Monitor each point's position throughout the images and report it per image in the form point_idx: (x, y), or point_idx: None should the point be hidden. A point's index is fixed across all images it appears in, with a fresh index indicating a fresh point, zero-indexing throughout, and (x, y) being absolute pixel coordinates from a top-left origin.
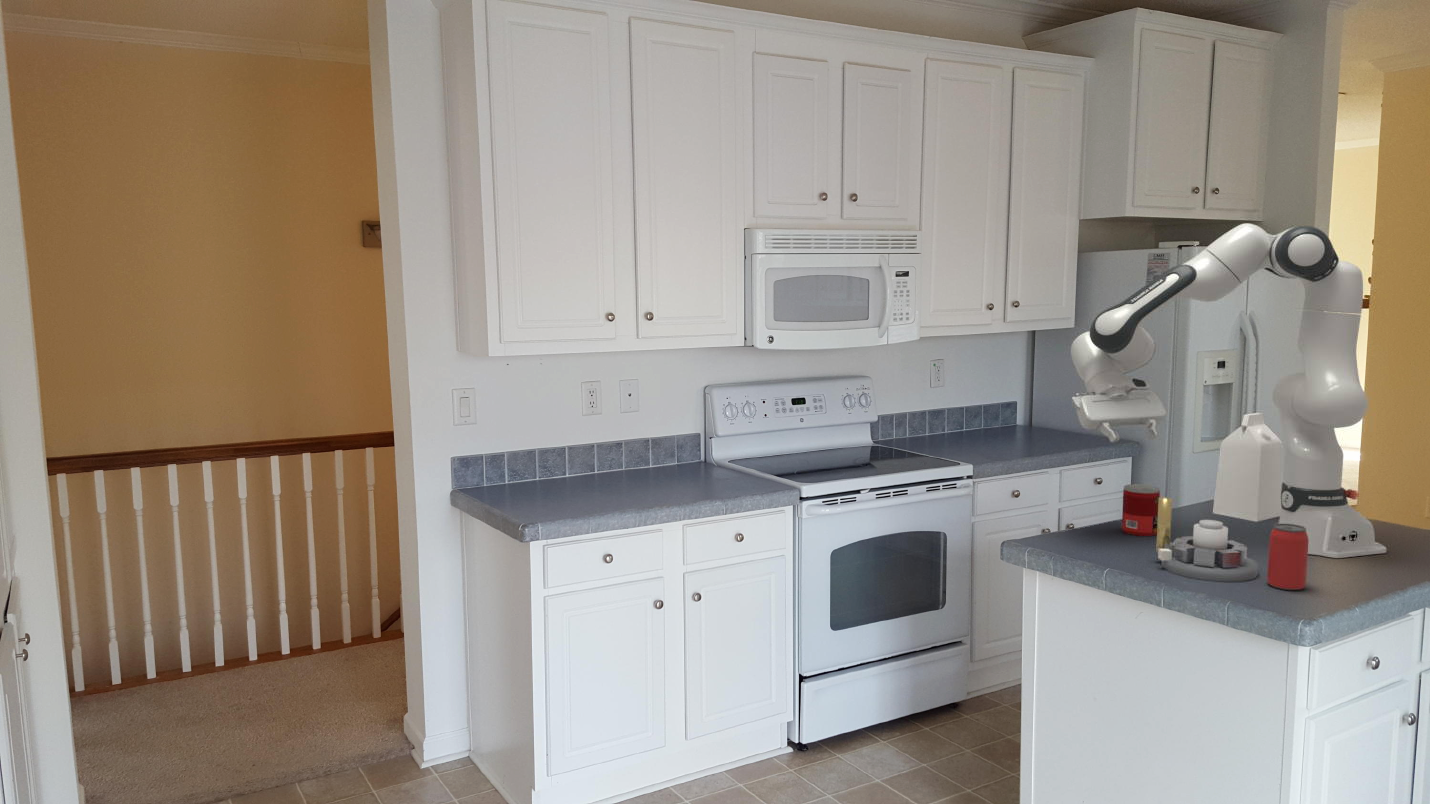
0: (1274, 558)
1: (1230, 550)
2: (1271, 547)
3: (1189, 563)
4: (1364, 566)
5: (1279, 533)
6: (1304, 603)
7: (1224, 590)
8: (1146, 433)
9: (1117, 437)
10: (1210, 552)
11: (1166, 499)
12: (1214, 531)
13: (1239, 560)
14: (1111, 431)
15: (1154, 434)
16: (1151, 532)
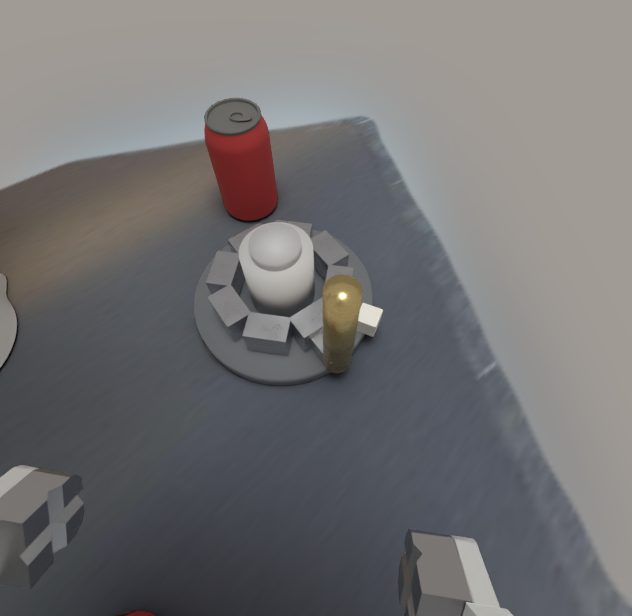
0: (272, 165)
1: None
2: (267, 157)
3: None
4: (23, 233)
5: (263, 121)
6: (300, 154)
7: (360, 216)
8: (33, 569)
9: (435, 534)
10: (330, 235)
11: (351, 278)
12: (297, 228)
13: None
14: (496, 612)
15: (45, 470)
16: (140, 611)
